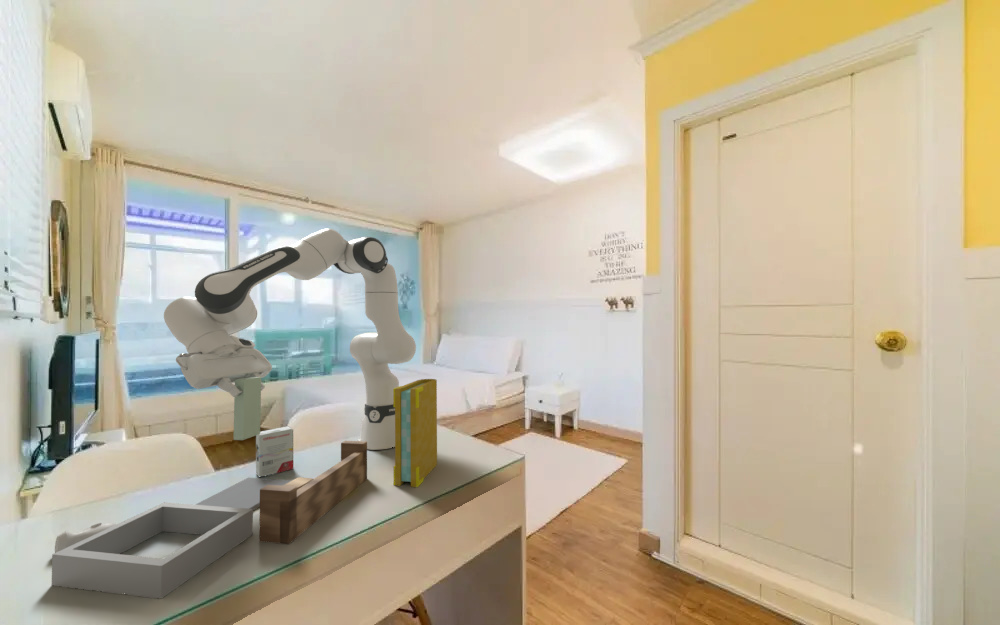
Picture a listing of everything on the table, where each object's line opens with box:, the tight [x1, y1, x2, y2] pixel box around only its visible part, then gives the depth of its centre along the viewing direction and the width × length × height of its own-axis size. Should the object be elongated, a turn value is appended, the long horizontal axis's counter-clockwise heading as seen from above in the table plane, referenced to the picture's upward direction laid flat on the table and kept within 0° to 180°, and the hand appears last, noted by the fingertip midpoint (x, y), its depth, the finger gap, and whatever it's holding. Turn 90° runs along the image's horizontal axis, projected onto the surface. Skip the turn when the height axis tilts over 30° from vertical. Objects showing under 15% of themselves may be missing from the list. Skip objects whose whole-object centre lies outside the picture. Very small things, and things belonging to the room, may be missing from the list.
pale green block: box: [232, 377, 262, 441], centre depth 87 cm, size 5×2×14 cm, turn 172°
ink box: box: [255, 425, 294, 478], centre depth 103 cm, size 9×5×12 cm, turn 134°
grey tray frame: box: [51, 502, 254, 600], centre depth 65 cm, size 17×21×5 cm
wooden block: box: [283, 476, 314, 490], centre depth 85 cm, size 12×5×4 cm, turn 166°
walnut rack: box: [258, 440, 368, 545], centre depth 83 cm, size 29×6×10 cm, turn 172°
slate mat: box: [194, 477, 293, 511], centre depth 86 cm, size 18×14×1 cm
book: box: [393, 378, 438, 488], centre depth 101 cm, size 17×7×25 cm, turn 168°
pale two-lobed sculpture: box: [54, 522, 117, 553], centre depth 69 cm, size 4×8×5 cm
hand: (250, 392), depth 87 cm, fingers closed on pale green block, 5 cm apart
